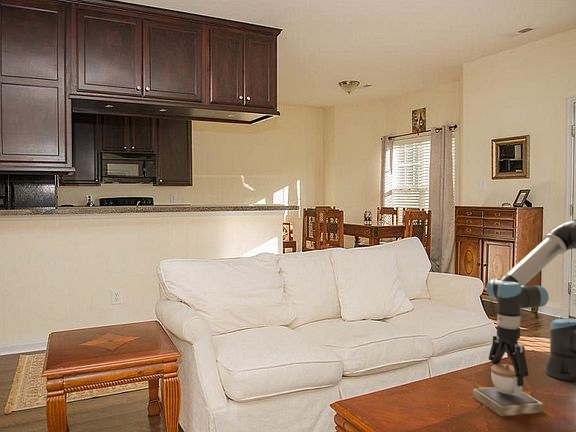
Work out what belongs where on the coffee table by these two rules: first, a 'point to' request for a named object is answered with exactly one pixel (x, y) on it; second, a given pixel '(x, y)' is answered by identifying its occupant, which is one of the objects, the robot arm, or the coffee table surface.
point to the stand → (507, 402)
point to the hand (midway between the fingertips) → (507, 387)
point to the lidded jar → (503, 377)
